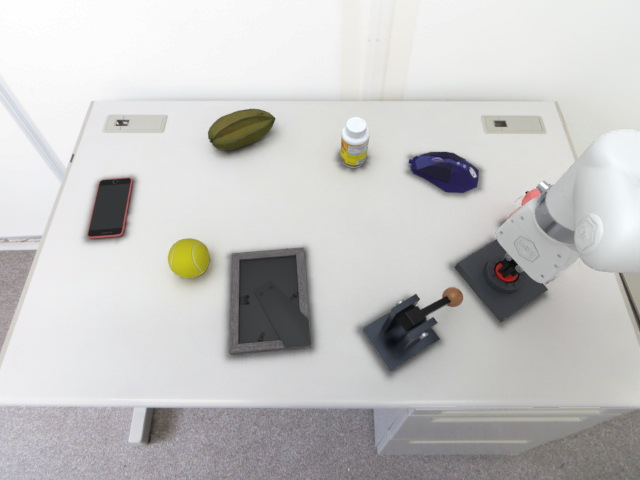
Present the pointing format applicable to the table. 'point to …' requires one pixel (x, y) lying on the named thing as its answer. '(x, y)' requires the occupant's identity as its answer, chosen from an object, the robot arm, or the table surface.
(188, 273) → the tennis ball
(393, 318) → the switch bracket
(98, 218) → the smartphone
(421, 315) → the switch lever
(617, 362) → the table surface
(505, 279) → the button
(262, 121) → the fruit
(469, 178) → the computer mouse
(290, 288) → the picture frame
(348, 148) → the supplement bottle
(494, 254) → the grey base plate
